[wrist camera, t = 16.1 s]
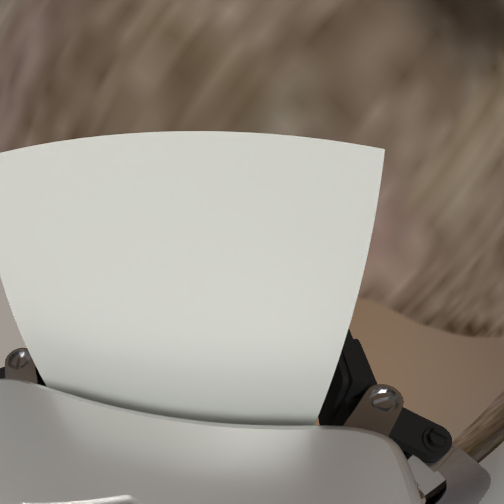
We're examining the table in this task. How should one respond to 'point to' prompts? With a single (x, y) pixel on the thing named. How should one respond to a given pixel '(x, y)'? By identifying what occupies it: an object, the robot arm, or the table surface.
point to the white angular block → (189, 268)
